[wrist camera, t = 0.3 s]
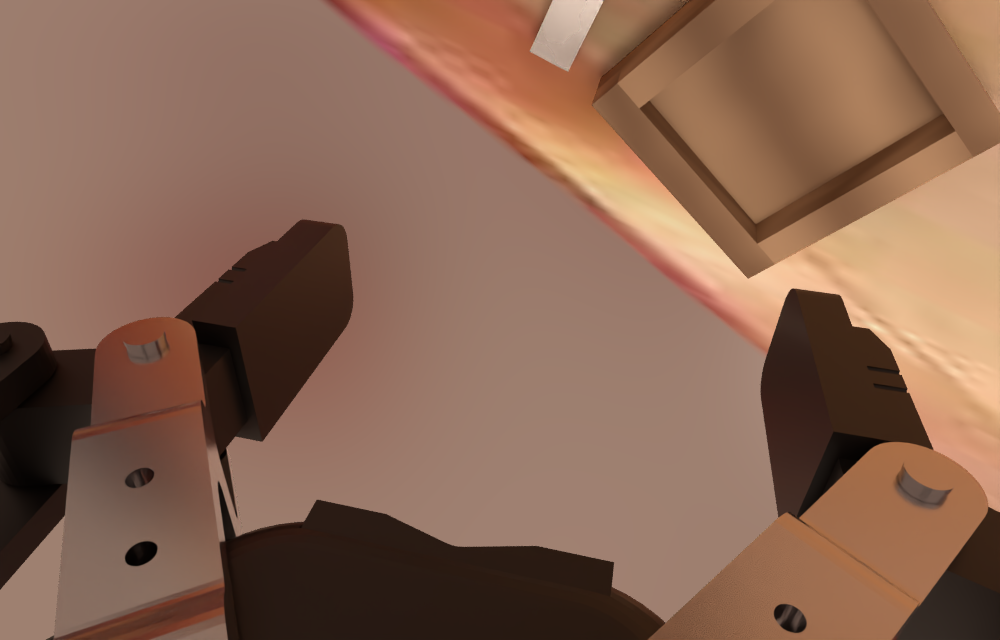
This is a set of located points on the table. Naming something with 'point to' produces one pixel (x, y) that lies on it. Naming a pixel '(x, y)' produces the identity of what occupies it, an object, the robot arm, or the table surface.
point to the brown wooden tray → (796, 114)
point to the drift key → (565, 30)
